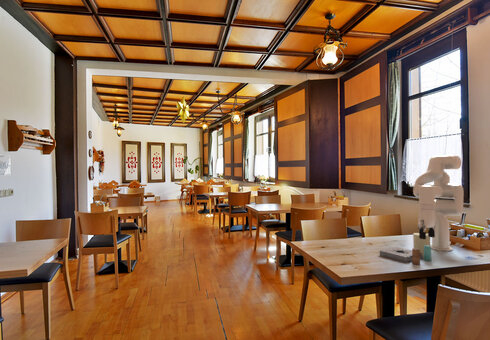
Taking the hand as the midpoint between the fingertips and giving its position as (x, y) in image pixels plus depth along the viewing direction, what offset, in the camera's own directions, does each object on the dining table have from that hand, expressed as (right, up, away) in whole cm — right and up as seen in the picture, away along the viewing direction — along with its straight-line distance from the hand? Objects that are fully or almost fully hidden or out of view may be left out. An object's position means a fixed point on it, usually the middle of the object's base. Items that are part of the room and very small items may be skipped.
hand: (427, 238), depth 162 cm
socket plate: (-11, -13, +7) cm, 18 cm away
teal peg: (+1, -13, 0) cm, 13 cm away
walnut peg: (-10, -13, -6) cm, 17 cm away
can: (+6, -13, +14) cm, 20 cm away
